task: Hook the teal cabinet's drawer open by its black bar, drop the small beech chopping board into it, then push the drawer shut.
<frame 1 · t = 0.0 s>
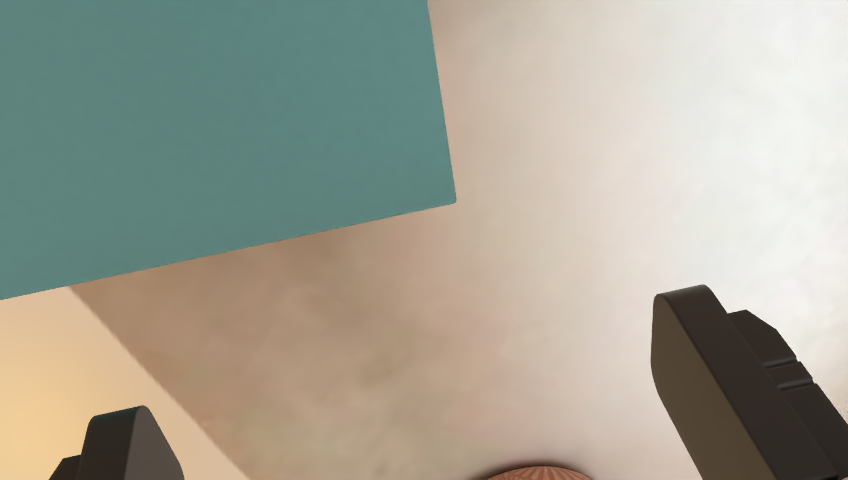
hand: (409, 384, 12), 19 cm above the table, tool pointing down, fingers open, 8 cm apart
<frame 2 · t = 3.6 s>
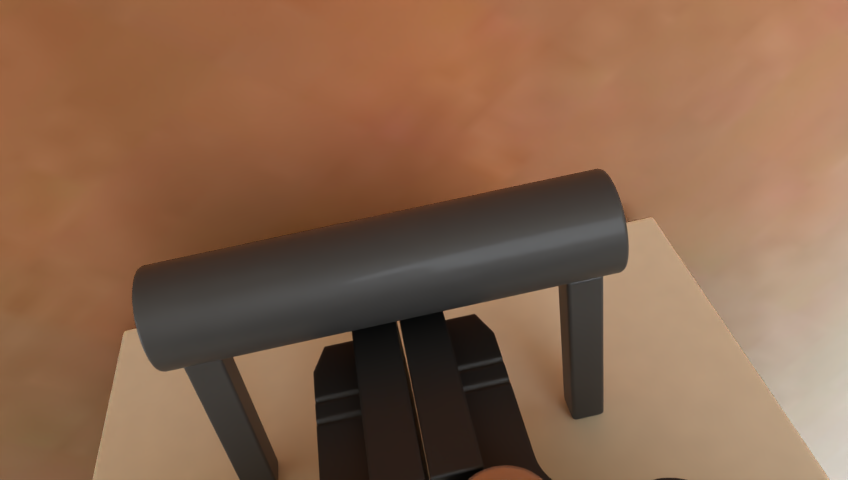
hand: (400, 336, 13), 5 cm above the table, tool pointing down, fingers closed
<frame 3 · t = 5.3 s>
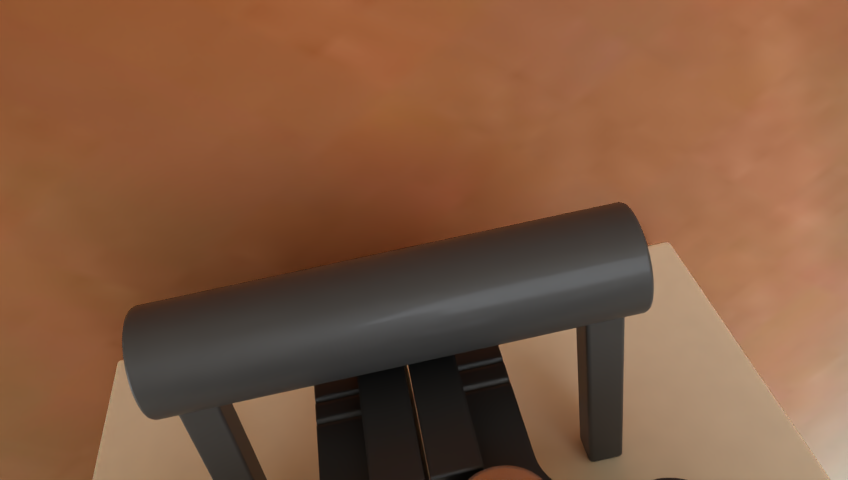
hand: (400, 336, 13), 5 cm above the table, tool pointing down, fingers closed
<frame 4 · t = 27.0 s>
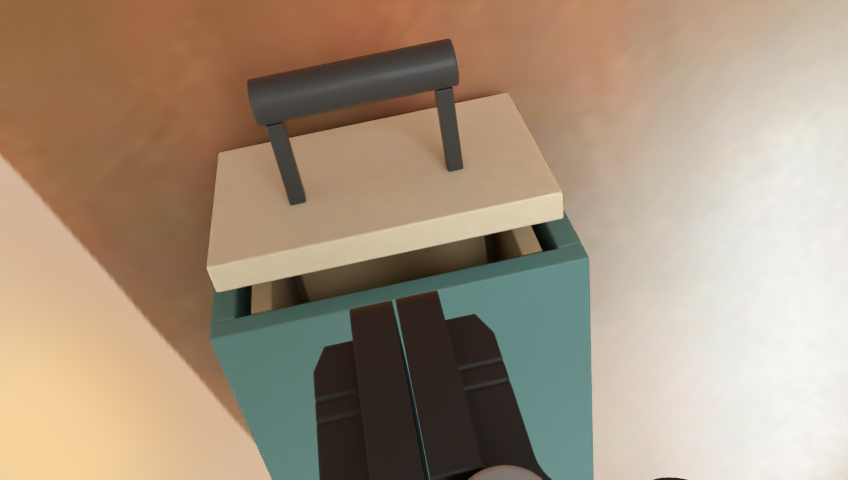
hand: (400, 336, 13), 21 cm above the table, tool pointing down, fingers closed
chopping board: (389, 237, 36), point 2 cm above the table, touching drawer
drawer: (390, 246, 32), point 5 cm above the table, slide at 1.2 cm, touching chopping board
cabinet: (397, 272, 40), on the table
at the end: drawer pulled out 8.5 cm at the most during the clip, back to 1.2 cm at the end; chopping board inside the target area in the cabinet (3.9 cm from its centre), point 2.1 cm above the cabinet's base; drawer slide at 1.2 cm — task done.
